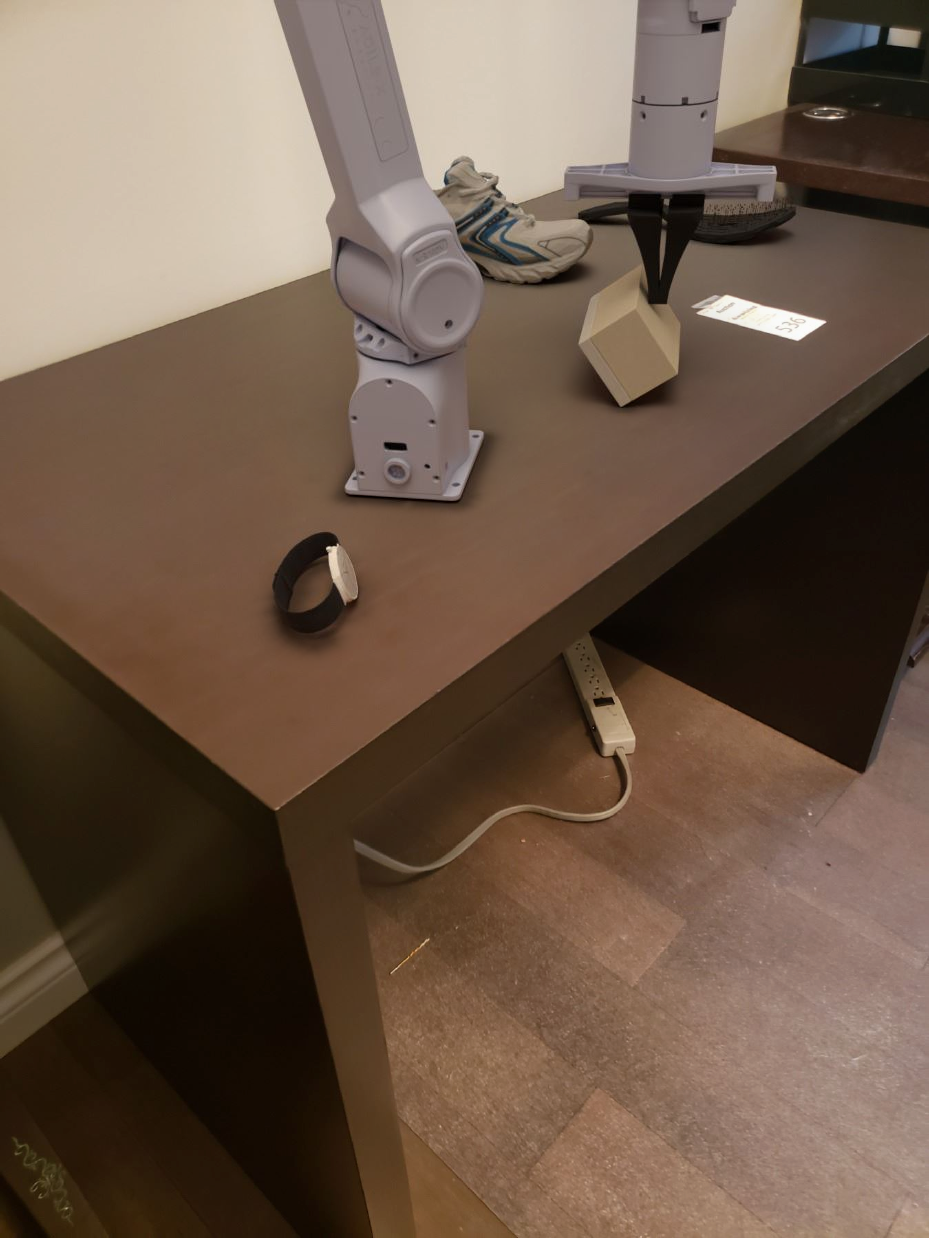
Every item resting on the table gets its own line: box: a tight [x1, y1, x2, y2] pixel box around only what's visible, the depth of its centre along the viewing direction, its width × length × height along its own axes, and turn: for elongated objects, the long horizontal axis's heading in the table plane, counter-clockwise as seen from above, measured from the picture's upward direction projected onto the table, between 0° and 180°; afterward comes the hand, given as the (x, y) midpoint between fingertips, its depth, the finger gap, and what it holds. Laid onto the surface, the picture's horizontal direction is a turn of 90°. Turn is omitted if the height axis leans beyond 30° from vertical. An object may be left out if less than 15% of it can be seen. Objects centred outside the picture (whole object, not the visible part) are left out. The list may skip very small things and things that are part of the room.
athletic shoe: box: [432, 155, 595, 285], centre depth 97 cm, size 10×23×12 cm, turn 78°
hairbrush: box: [577, 195, 797, 244], centre depth 106 cm, size 8×4×25 cm
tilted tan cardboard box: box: [578, 263, 681, 407], centre depth 73 cm, size 10×5×6 cm
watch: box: [271, 531, 359, 635], centre depth 53 cm, size 8×5×4 cm, turn 3°
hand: (658, 300), depth 71 cm, fingers closed
